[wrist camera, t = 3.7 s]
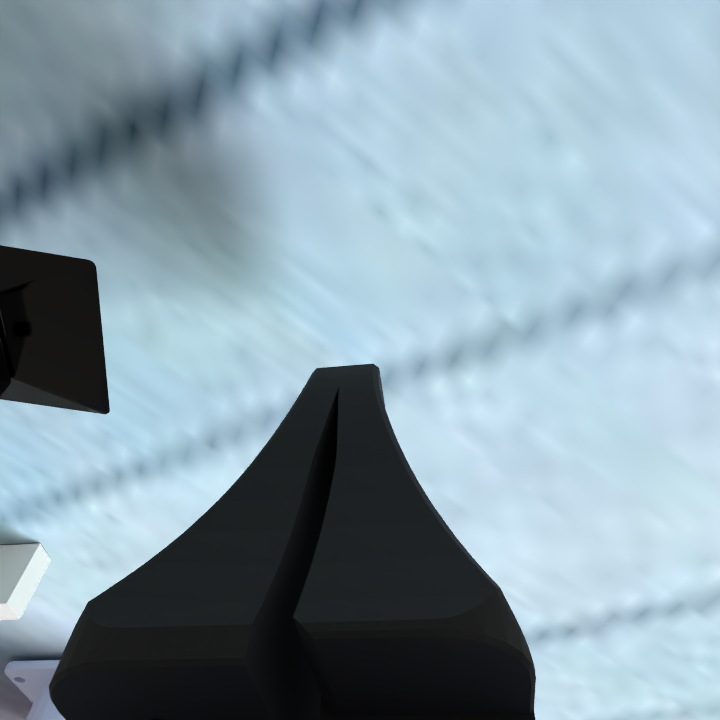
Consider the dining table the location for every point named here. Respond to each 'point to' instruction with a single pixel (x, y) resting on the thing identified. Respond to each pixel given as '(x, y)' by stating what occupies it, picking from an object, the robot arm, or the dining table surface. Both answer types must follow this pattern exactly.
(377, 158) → the dining table surface
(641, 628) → the dining table surface
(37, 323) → the black boxy piece
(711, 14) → the dining table surface
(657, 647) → the dining table surface
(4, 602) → the walled lane
